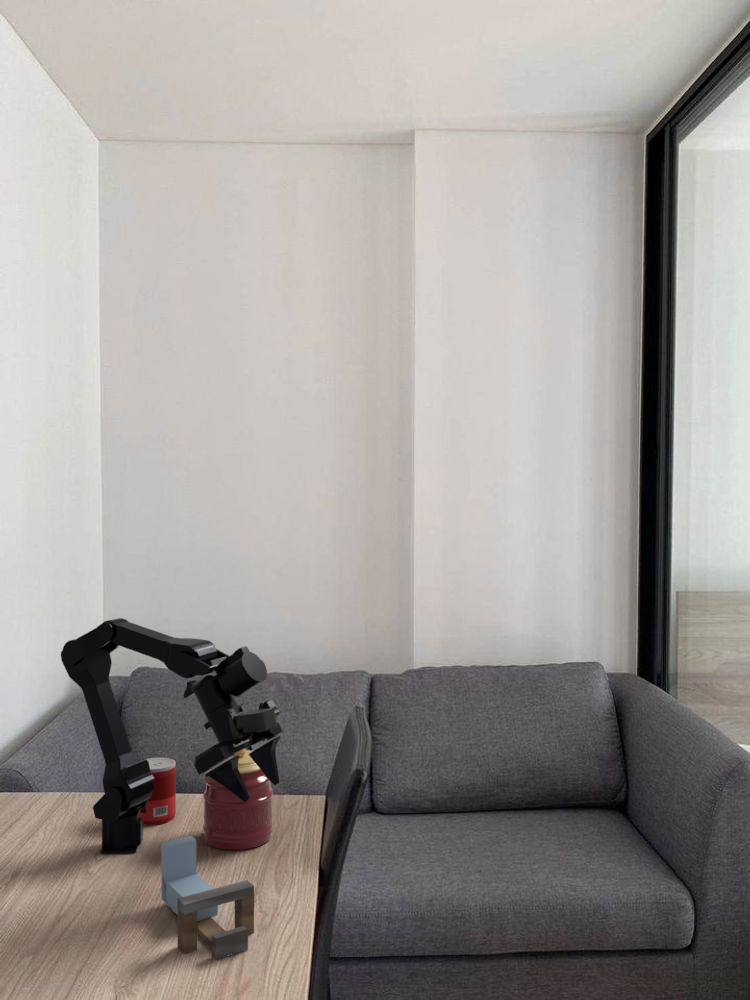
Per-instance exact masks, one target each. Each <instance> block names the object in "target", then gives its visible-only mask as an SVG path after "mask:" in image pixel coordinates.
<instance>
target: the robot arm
mask: <svg viewBox="0 0 750 1000" xmlns="http://www.w3.org/2000/svg"><path fill="white" fill-rule="evenodd" d="M119 647H122V648H125V649H126V650H127V649H128V650H131V651H133V652H136V653H139V654H142V655H144V656H148V657H150V658H151V659H152V658H153V659H155V660H158V661H160V662H161V663H163V664H164V665H165V666H166V668H167V670H168V671H170V672H172V673H174V674H175V675H177V676H179V677H181V678H182V679H192V678H194V677H198V676H201V677H202V676H203V677H202V678H200V679H199V680H196V679H193V680H190V681H187V682H186V687H185V690H184V693H183V696H182V697H183V698H184V699H188V698H190V697H193V696H194V697H195V698H196V700H197V702H198V704H199V707H200V709H201V710H202V713H203V714H204V717H205V718H206V721H207V722H205V723H204V724H203V726H204V729H205V730H206V731H208V730H210V729H211V731H212V732H213V734H214V737H215V738H216V741H217V742H218V743H216V744H214V745H212V746H210V747H209V748H207V749H206V750H204V751H202V752H201V753H200V754H197V755H196V756H195V757H194V762H193V766H194V768H195V770H196V772H197V774H198V775H202V774H205V773H206V772H207V771H209V770H210V772H208V773H206V774H205V776H206V777H208V776H209V777H211V778H212V779H214V780H215V781H217V782H218V783H220V784H221V785H223V786H224V787H225V788H227V789H228V790H229V791H231V792H232V793H233V794H235V795H236V796H237V797H238V798H240V799H241V800H242V801H244V802H246V801H248V800H249V799H250V797H249V794H248V791H247V789H246V786H245V784H244V782H243V779H242V777H241V774H240V772H239V770H238V761H239V755H238V756H236V757H234V758H233V757H232V756H233V755H234V754H235V753H237V752H239V751H241V750H243V749H245V750H249V751H253V752H251V753H249V756H250V757H251V758H252V759H253V761H254V762H255V763H256V764H257V765H258V767H259V768H260V769H261V770H262V772H263V773H264V774H265V775H266V777H267V778H268V779H269V780H270V783H271V784H272V785H274V786H277V785H278V784H280V776H279V775H280V774H279V769H278V762H277V756H276V755H277V754H276V748H277V746H278V743H279V741H280V740H281V734H282V733H283V732H284V731H283V729H282V727H281V725H280V723H279V722H278V721H277V719H278V717H279V715H280V713H281V712H280V710H279V709H278V707H277V706H276V703H275V702H274V701H273V699H268V700H264V701H262V702H260V703H259V705H258V708H254V709H251V710H249V709H248V707H247V706H246V705H245V704H244V703H241V704H239V703H238V702H237V700H236V698H235V697H238V698H239V697H241V696H243V695H244V694H246V693H248V692H249V691H250V690H252V689H254V688H255V687H257V686H258V685H260V684H261V683H263V682H264V681H266V680H267V677H268V670H267V669H268V668H267V666H266V664H265V662H264V660H262V659H261V658H260V657H259V656H258V655H257V654H256V653H254V652H252V651H251V650H250V649H249V648H248V646H242V647H238V648H237V649H235V651H234V652H233V653H232V654H231V655H229V654H227V653H224V652H223V651H221V650H220V649H217V648H216V645H215V644H214V643H213V642H211V640H209V639H207V640H206V639H201V638H187V637H184V638H183V637H182V638H179V637H173V636H171V635H168V634H165V633H163V632H159V631H157V630H154V629H151V628H147V627H145V626H142V625H139V624H136V623H134V622H130V621H128V620H127V619H125V618H122V617H121V618H113V619H108V620H105V621H103V622H102V623H100V624H99V625H98V626H96V627H95V628H93V629H92V630H89V631H88V632H86V633H84V634H83V635H81V636H79V637H77V638H76V639H71V640H68V641H67V642H66V643H64V645H63V647H62V649H61V651H60V659H61V662H62V665H63V667H64V669H65V671H66V673H67V675H68V677H69V678H70V679H71V680H72V681H73V682H74V684H76V685H77V686H78V687H79V688H80V689H81V691H82V693H83V696H84V700H85V702H86V706H87V708H88V709H87V710H88V712H89V716H90V718H91V721H92V725H93V727H94V730H95V734H96V738H97V740H98V744H99V747H100V750H101V752H102V756H103V759H104V763H105V767H104V771H103V772H104V773H103V777H102V786H103V791H104V794H103V795H102V796H101V797H100V798H99V799H98V800H97V802H95V804H93V806H92V811H93V814H94V818H95V819H98V820H101V846H100V849H99V854H117V853H118V854H119V853H121V854H122V853H124V854H125V853H127V854H128V853H136V852H137V850H138V849H139V847H140V845H142V842H143V840H144V824H143V818H140V809H142V808H145V807H146V806H147V803H148V799H149V798H150V797H151V795H152V791H154V785H153V780H155V778H154V777H153V775H152V773H151V771H150V767H149V762H148V761H147V759H148V758H144V759H142V760H140V759H139V757H137V756H136V755H135V754H134V753H133V751H132V747H131V745H130V741H129V737H128V735H127V732H126V729H125V727H124V723H123V719H122V716H121V713H120V710H119V707H118V705H117V701H116V699H115V696H114V695H115V694H114V692H113V689H112V686H111V683H110V673H111V668H112V663H113V662H112V658H111V653H113V652H114V651H115V650H117V649H118V648H119ZM211 673H215V675H212V674H211Z"/></svg>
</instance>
